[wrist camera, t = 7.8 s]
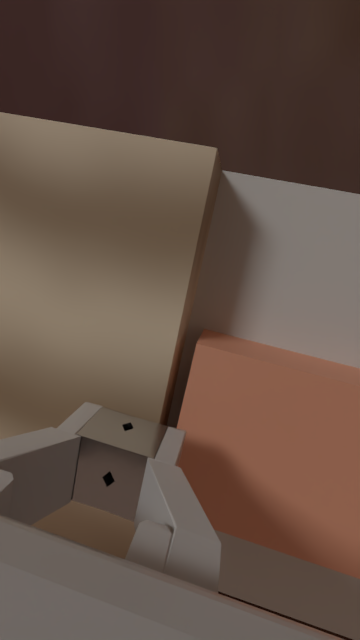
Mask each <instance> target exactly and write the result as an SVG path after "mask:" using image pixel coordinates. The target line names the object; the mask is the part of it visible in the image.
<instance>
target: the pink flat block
mask: <svg viewBox="0 0 360 640" xmlns="http://www.w3.org/2000/svg"><path fill="white" fill-rule="evenodd" d="M177 429H181V430H185V431H186V437H185V441H184V445H183V449H182V453H181V457H180V461H179V466H178V467H180V468H181V469H182V471H183V473H184V474H185V476H186V478H187V480H188V482H189V484H190V486H191V488H192V490H193V491H194V493H195V495H196V497H197V499H198V501H199V503H200V505H201V506H202V508H203V510H204V512H205V514H206V516H207V518H208V520H209V521H210V523H211V525H212V527H213V529H214V530H217V531H220V532H223V533H226V534H229V535H232V536H235V537H238V538H241V539H243V540H246V541H249V542H252V543H255V544H258V545H261V546H264V547H267V548H270V549H273V550H276V551H279V552H282V553H285V554H288V555H290V556H293V557H296V558H299V559H302V560H305V561H308V562H311V563H314V564H317V565H320V566H323V567H326V568H329V569H332V570H335V571H337V572H340V573H343V574H346V575H349V576H352V577H355V578H358V579H360V368H356V367H352V366H348V365H344V364H340V363H336V362H332V361H328V360H324V359H320V358H317V357H313V356H309V355H305V354H301V353H297V352H293V351H289V350H285V349H281V348H277V347H273V346H269V345H266V344H262V343H258V342H254V341H250V340H246V339H242V338H238V337H234V336H230V335H226V334H222V333H218V332H215V331H211V330H207V329H204V330H203V332H202V334H201V336H200V338H199V340H198V342H197V344H196V348H195V352H194V356H193V361H192V365H191V369H190V373H189V377H188V382H187V386H186V390H185V394H184V399H183V403H182V407H181V411H180V415H179V420H178V424H177Z"/></svg>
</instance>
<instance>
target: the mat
mask: <svg viewBox="0 0 360 640" xmlns="http://www.w3.org/2000/svg"><path fill="white" fill-rule="evenodd" d="M204 329H207V330H211V331H215V332H218V333H222V334H226V335H230V336H234V337H238V338H242V339H246V340H250V341H254V342H258V343H262V344H266V345H269V346H273V347H277V348H281V349H285V350H289V351H293V352H297V353H301V354H305V355H309V356H313V357H317V358H320V359H324V360H328V361H332V362H336V363H340V364H344V365H348V366H352V367H356V368H360V194H354V193H349V192H343V191H337V190H331V189H326V188H320V187H314V186H308V185H303V184H297V183H291V182H285V181H280V180H274V179H268V178H263V177H257V176H251V175H245V174H240V173H234V172H228V171H222V173H221V178H220V183H219V187H218V192H217V196H216V201H215V206H214V210H213V215H212V219H211V224H210V229H209V233H208V238H207V242H206V247H205V252H204V256H203V261H202V266H201V270H200V275H199V279H198V284H197V289H196V293H195V298H194V302H193V307H192V312H191V316H190V321H189V325H188V330H187V335H186V339H185V344H184V348H183V353H182V358H181V362H180V367H179V371H178V376H177V381H176V385H175V390H174V394H173V399H172V404H171V408H170V413H169V417H168V422H167V426H168V427H173V428H177V424H178V420H179V415H180V411H181V407H182V403H183V399H184V394H185V390H186V386H187V382H188V377H189V373H190V369H191V365H192V361H193V356H194V352H195V348H196V344H197V342H198V340H199V338H200V336H201V334H202V332H203V330H204ZM214 531H215V533H216V535H217V536H218V538H219V540H220V542H221V556H220V570H219V585H218V591H219V592H222V593H225V594H227V595H230V596H233V597H236V598H239V599H241V600H244V601H247V602H250V603H253V604H255V605H258V606H261V607H264V608H267V609H269V610H272V611H275V612H278V613H280V614H283V615H286V616H289V617H292V618H294V619H297V620H300V621H303V622H306V623H308V624H311V625H314V626H317V627H320V628H322V629H325V630H328V631H331V632H334V633H336V634H339V635H342V636H345V637H348V638H350V639H353V640H360V579H358V578H355V577H352V576H349V575H346V574H343V573H340V572H337V571H335V570H332V569H329V568H326V567H323V566H320V565H317V564H314V563H311V562H308V561H305V560H302V559H299V558H296V557H293V556H290V555H288V554H285V553H282V552H279V551H276V550H273V549H270V548H267V547H264V546H261V545H258V544H255V543H252V542H249V541H246V540H243V539H241V538H238V537H235V536H232V535H229V534H226V533H223V532H220V531H217V530H214Z"/></svg>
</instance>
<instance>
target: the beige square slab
mask: <svg viewBox="0 0 360 640" xmlns="http://www.w3.org/2000/svg"><path fill="white" fill-rule="evenodd" d="M221 173H222V168H221V163H220V159H219V154H218V150H217V148H214V147H208V146H202V145H196V144H190V143H184V142H177V141H171V140H165V139H159V138H153V137H147V136H141V135H135V134H129V133H123V132H117V131H111V130H105V129H99V128H93V127H86V126H80V125H74V124H68V123H62V122H56V121H50V120H44V119H38V118H32V117H26V116H20V115H14V114H8V113H2V112H0V439H4V438H8V437H12V436H17V435H21V434H25V433H29V432H33V431H37V430H41V429H45V428H49V427H53V428H57V427H59V426H60V425H61V424H62V423H63V422H64V421H65V420H66V419H67V418H68V417H69V416H71V415H72V414H73V413H74V412H75V411H76V410H77V409H78V408H79V407H80V406H81V405H83V404H84V403H85V402H90V403H94V404H97V405H101V406H103V407H107V408H110V409H113V410H116V411H119V412H122V413H125V414H128V415H132V416H135V417H137V418H140V419H144V420H148V421H151V422H155V423H159V424H163V425H166V426H167V422H168V417H169V413H170V408H171V404H172V399H173V394H174V390H175V385H176V381H177V376H178V371H179V367H180V362H181V358H182V353H183V348H184V344H185V339H186V335H187V330H188V325H189V321H190V316H191V312H192V307H193V302H194V298H195V293H196V289H197V284H198V279H199V275H200V270H201V266H202V261H203V256H204V252H205V247H206V242H207V238H208V233H209V229H210V224H211V219H212V215H213V210H214V206H215V201H216V196H217V192H218V187H219V183H220V178H221ZM31 526H34V527H37V528H40V529H42V530H45V531H48V532H51V533H54V534H56V535H59V536H62V537H65V538H67V539H70V540H73V541H76V542H78V543H81V544H84V545H87V546H89V547H92V548H95V549H98V550H100V551H103V552H106V553H109V554H111V555H114V556H117V557H120V558H122V559H125V557H126V555H127V552H128V550H129V547H130V545H131V542H132V540H133V537H134V535H135V533H136V532H135V527H134V522H133V521H130V520H128V519H125V518H122V517H120V516H117V515H115V514H112V513H109V512H107V511H104V510H101V509H98V508H95V507H92V506H88V505H85V504H82V503H79V502H75V501H72V500H71V502H70V503H68V504H66V505H65V506H63V507H61V508H60V509H58V510H56V511H54V512H53V513H51V514H49V515H48V516H46V517H44V518H43V519H41V520H39V521H37V522H36V523H34V524H32V525H31Z"/></svg>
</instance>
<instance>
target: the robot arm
mask: <svg viewBox="0 0 360 640" xmlns="http://www.w3.org/2000/svg"><path fill="white" fill-rule="evenodd" d="M185 437H186V431H185V430H181V429H177V428H173V427H168V426H166V425H163V424H159V423H155V422H151V421H148V420H144V419H140V418H137V417H135V416H132V415H128V414H125V413H122V412H119V411H116V410H113V409H110V408H107V407H103V406H101V405H97V404H94V403H90V402H85V403H84V404H83V405H81V406H80V407H79V408H78V409H77V410H76V411H75V412H74V413H73V414H72V415H71V416H69V417H68V418H67V419H66V420H65V421H64V422H63V423H62V424H61V425H60V426H59V427H57V428H53V427H49V428H45V429H41V430H37V431H33V432H29V433H25V434H21V435H17V436H12V437H8V438H4V439H0V640H345V639H342V638H339V637H336V636H334V635H331V634H328V633H326V632H323V631H320V630H317V629H315V628H312V627H309V626H306V625H304V624H301V623H298V622H295V621H292V620H289V619H287V618H284V617H281V616H279V615H276V614H273V613H270V612H268V611H265V610H262V609H259V608H257V607H254V606H251V605H248V604H246V603H243V602H240V601H237V600H235V599H232V598H229V597H226V596H224V595H221V594H218V585H219V570H220V556H221V542H220V540H219V538H218V536H217V535H216V533H215V531H214V529H213V527H212V525H211V523H210V521H209V520H208V518H207V516H206V514H205V512H204V510H203V508H202V506H201V505H200V503H199V501H198V499H197V497H196V495H195V493H194V491H193V490H192V488H191V486H190V484H189V482H188V480H187V478H186V476H185V474H184V473H183V471H182V469H181V468H180V467H178V466H179V461H180V457H181V453H182V449H183V445H184V441H185ZM71 500H72V501H75V502H79V503H82V504H85V505H88V506H92V507H95V508H98V509H101V510H104V511H107V512H109V513H112V514H115V515H117V516H120V517H122V518H125V519H128V520H130V521H133V522H134V527H135V532H136V533H135V535H134V537H133V540H132V542H131V545H130V547H129V550H128V552H127V555H126V557H125V559H122V558H120V557H117V556H114V555H111V554H109V553H106V552H103V551H100V550H98V549H95V548H92V547H89V546H87V545H84V544H81V543H78V542H76V541H73V540H70V539H67V538H65V537H62V536H59V535H56V534H54V533H51V532H48V531H45V530H42V529H40V528H37V527H34V526H31V525H32V524H34V523H36V522H37V521H39V520H41V519H43V518H44V517H46V516H48V515H49V514H51V513H53V512H54V511H56V510H58V509H60V508H61V507H63V506H65V505H66V504H68V503H70V502H71Z"/></svg>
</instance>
